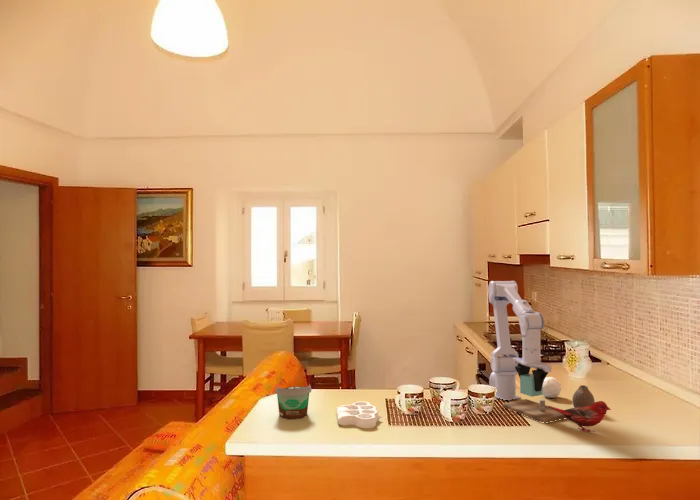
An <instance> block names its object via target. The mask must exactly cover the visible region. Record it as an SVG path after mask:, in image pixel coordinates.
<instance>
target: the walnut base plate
mask: <svg viewBox="0 0 700 500" xmlns="http://www.w3.org/2000/svg"><path fill="white" fill-rule="evenodd" d="M538 400H539V401H538V402H537V401H533V400H530V399H519V400H515V401H510V402H505V403H502V405H501V407H504V408H507V409H510V410H513V411H516V412H518V413H520V414H523V415H525V416H528V417H530V418H533V419H535V420H534V421H536V420H538V421H541V422H544V423H546V422H550V421H555V420H559V419H563V420H565V419H564V418H566V417H565V416H564V415H563V414H562V413H560V412H558V411H556V410H554V409H552V408H550V407H548V406H549V405H546V400H544V399H538ZM525 416H524V417H525ZM528 417H527V418H528ZM530 418H529V419H530ZM533 419H532V420H533ZM538 421H537V422H538ZM559 421H560V420H559ZM541 422H540V423H541ZM555 422H556V421H555ZM544 423H543V424H544ZM550 423H551V422H550ZM546 424H547V423H546Z"/></svg>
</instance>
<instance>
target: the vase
mask: <svg viewBox="0 0 700 500" xmlns="http://www.w3.org/2000/svg"><path fill="white" fill-rule="evenodd" d="M594 402H596V401H595V397H594V394H593V393H592V392H591V391H590V389H589V388H588V386H587V385H584V384H583V385H579V386H578V388H577V389H576V390H575V392H574V393H573V395H572V406H573V408H577V407H586V406H590V405H591V404H593V403H594Z"/></svg>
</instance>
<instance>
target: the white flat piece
mask: <svg viewBox="0 0 700 500" xmlns="http://www.w3.org/2000/svg"><path fill="white" fill-rule="evenodd" d="M335 412H336V418H337V424H339V425H340V426H356V427H358V428H360V429H372V428H374V427H376V426H377V425H376V424H377V423H378V421H379V419H382V418H383V416H381V415H380V414H379V413H380V410H378V409H377V407H376V406H374V405H372V404H371V402H368V401H355V402H353V403H352V404H344V405H343V404H342V405H339V406H337V407H336V408H335Z"/></svg>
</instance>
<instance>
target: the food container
mask: <svg viewBox="0 0 700 500" xmlns="http://www.w3.org/2000/svg"><path fill="white" fill-rule="evenodd" d="M274 390H275V391H274V393H275V394H276V396H277V406H278V415H279V417H280V418H281V417H282V419H285V420H300V419H304V418H305V416H306V417H307V416H308V409H309V408H308V407H309V399H310V393H311V392H312V387H311V384H310V383H309V384H308V386H289V387H284V388H283V387H282V388H281V387H278V386H276V388H275V389H274Z"/></svg>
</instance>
